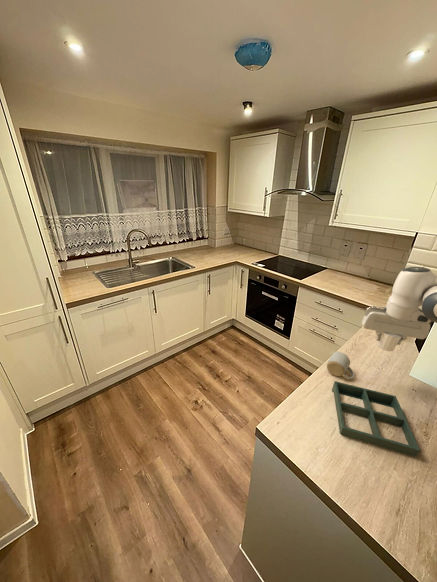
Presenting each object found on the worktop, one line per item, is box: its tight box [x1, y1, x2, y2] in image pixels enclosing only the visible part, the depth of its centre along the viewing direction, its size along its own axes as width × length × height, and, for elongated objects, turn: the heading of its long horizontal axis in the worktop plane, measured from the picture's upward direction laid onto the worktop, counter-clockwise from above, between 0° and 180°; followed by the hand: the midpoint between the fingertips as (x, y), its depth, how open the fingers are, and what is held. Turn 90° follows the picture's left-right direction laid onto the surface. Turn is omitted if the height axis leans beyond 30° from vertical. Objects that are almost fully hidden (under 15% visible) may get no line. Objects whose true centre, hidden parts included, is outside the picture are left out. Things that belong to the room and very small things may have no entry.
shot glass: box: [376, 332, 402, 352], centre depth 89 cm, size 7×7×7 cm
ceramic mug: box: [326, 351, 355, 381], centre depth 99 cm, size 11×8×8 cm
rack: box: [331, 380, 421, 458], centre depth 79 cm, size 20×20×5 cm
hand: (387, 341), depth 90 cm, fingers closed on shot glass, 5 cm apart
